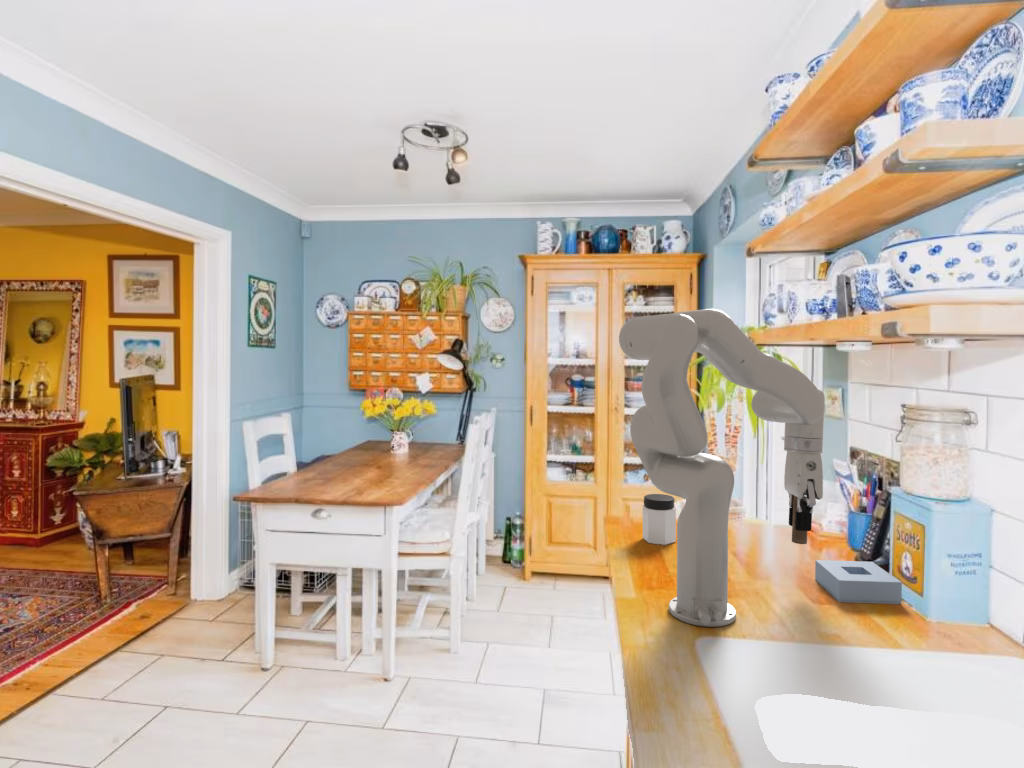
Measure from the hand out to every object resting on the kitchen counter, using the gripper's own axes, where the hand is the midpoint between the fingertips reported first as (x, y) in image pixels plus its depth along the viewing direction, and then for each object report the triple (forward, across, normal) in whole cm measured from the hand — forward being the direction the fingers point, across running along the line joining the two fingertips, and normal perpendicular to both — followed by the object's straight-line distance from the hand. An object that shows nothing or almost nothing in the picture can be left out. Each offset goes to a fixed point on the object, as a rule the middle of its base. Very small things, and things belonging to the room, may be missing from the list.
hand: (799, 527), depth 128 cm
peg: (+3, 0, 0) cm, 3 cm away
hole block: (+13, -2, -11) cm, 17 cm away
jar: (+13, +30, +26) cm, 42 cm away
